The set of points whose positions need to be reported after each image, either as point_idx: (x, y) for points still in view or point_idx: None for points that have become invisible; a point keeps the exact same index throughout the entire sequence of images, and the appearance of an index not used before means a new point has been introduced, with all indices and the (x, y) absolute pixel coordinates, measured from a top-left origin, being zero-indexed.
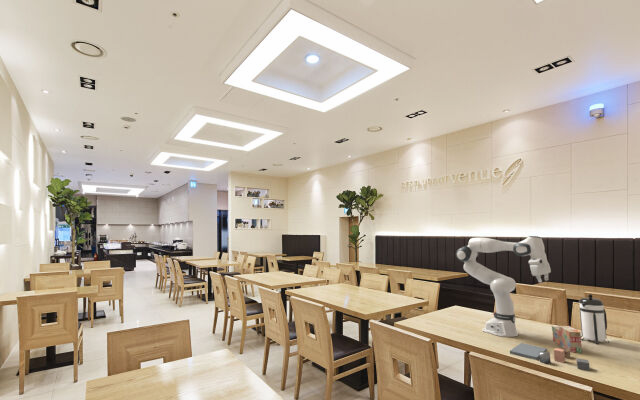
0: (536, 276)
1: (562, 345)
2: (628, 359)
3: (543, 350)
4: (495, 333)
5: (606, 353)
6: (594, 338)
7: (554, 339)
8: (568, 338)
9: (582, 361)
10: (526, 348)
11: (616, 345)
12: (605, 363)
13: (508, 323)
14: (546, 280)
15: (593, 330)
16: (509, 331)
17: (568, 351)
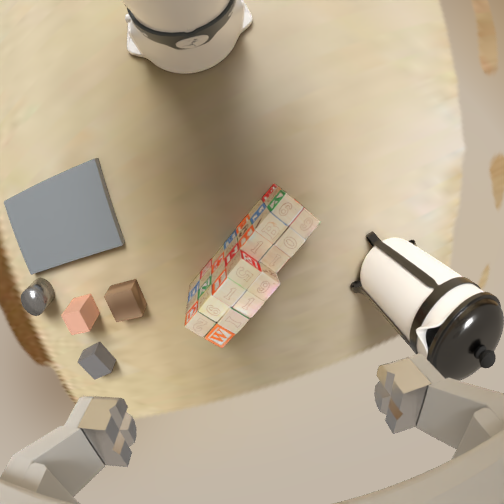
0: (9, 472)
1: (226, 242)
2: (274, 376)
3: (93, 251)
4: (128, 24)
5: (279, 337)
6: (363, 286)
7: (269, 192)
8: (191, 303)
9: (89, 368)
10: (59, 211)
11: None
12: (185, 367)
13: (151, 42)
14: (377, 385)
15: (375, 300)
16: (156, 56)
17: (126, 319)
